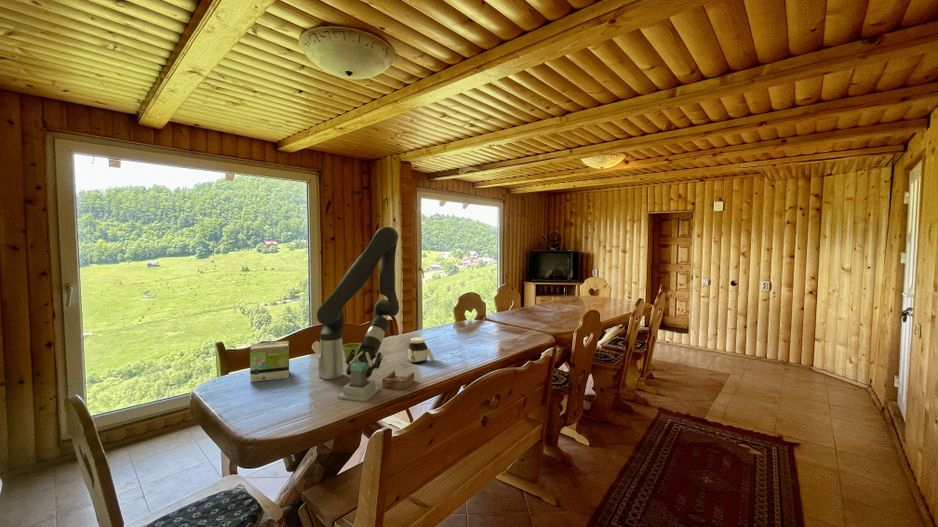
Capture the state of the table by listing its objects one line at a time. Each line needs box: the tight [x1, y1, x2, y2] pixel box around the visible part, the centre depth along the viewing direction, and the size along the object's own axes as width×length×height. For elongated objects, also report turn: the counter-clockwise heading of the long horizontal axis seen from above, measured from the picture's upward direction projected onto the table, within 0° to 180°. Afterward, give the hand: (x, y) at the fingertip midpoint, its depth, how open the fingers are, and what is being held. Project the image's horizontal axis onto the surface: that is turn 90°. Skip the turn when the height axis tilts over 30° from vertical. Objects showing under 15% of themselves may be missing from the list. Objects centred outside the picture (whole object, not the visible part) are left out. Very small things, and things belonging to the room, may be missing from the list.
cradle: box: [382, 370, 415, 390], centre depth 160 cm, size 10×10×4 cm
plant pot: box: [342, 342, 361, 362], centre depth 188 cm, size 9×9×9 cm
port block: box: [337, 379, 381, 402], centre depth 150 cm, size 12×12×4 cm
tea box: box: [249, 340, 290, 383], centre depth 168 cm, size 15×10×15 cm, turn 114°
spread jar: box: [407, 336, 435, 365], centre depth 190 cm, size 12×11×12 cm
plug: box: [350, 362, 369, 388], centre depth 149 cm, size 5×5×11 cm
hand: (357, 375), depth 148 cm, fingers open, 8 cm apart
